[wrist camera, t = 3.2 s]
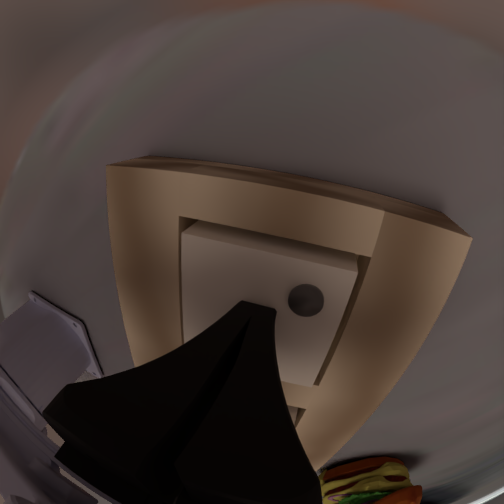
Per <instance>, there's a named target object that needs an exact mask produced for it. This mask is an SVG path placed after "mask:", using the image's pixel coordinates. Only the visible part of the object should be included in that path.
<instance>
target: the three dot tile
mask: <svg viewBox="0 0 504 504" xmlns="http://www.w3.org/2000/svg"><path fill="white" fill-rule="evenodd" d="M181 271H182V310H183V331H184V343H186V342H188V341H189V340H191V339H192V338H194V337H195V336H197V335H198V334H200V333H201V332H203V331H204V330H205V329H207V328H208V327H209V326H211V325H212V324H213V323H215V322H216V321H217V320H219V319H220V318H221V317H222V316H223V315H225V314H226V313H227V312H228V311H229V310H230V309H232V308H233V307H234V306H235V305H236V304H237V303H238V302H240V301H241V300H243V301H247V302H251V303H255V304H259V305H263V306H267V307H271V308H275V310H276V311H277V315H276V319H275V346H276V356H277V363H278V369H279V374H280V379H281V381H284V382H288V383H292V384H297V385H302V386H307V387H312V386H313V384H314V381H315V379H316V377H317V375H318V373H319V371H320V369H321V366H322V364H323V362H324V360H325V357H326V355H327V353H328V351H329V348H330V346H331V343H332V341H333V339H334V336H335V334H336V331H337V329H338V326H339V324H340V321H341V319H342V316H343V314H344V311H345V308H346V306H347V303H348V300H349V297H350V295H351V292H352V289H353V286H354V283H355V280H356V277H357V274H358V269H357V263H356V258H355V253H351V252H347V251H342V250H338V249H334V248H329V247H325V246H320V245H316V244H311V243H307V242H303V241H298V240H293V239H289V238H284V237H280V236H275V235H270V234H266V233H261V232H256V231H252V230H247V229H242V228H237V227H232V226H228V225H223V224H218V223H213V222H208V221H203V220H198V221H197V222H196V223H194V224H193V225H192V226H190V227H189V228H187V229H186V230H185V231H183V232H182V235H181Z"/></svg>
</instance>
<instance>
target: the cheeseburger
mask: <svg viewBox="0 0 504 504" xmlns="http://www.w3.org/2000/svg"><path fill="white" fill-rule="evenodd" d="M318 478H319V480H320V484H321V492H322V496H324V497H323V499H322V501H323V503H324V504H420V501H421V498H422V487H421V486H420V485H416V486H413V485H412V484H411V483H410V480H409V473H408V469H407V468H406V466H404V463H403V462H402V461H400V460H399V459H397V458H391V457H384V456H383V457H373V458H366V459H362V460H359V461H355V462H351V463H348V464H344V465H340V466H337V467H335V468H332V469H330V470H328V471H327V469H325V470H324V471H323V472H322V473H321V474H320V475H319V476H318Z"/></svg>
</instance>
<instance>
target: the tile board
mask: <svg viewBox="0 0 504 504" xmlns="http://www.w3.org/2000/svg"><path fill="white" fill-rule="evenodd" d="M106 182H107V205H108V220H109V231H110V241H111V250H112V258H113V265H114V272H115V279H116V285H117V291H118V296H119V302H120V307H121V312H122V317H123V321H124V326H125V330H126V335H127V339H128V343H129V347H130V351H131V354H132V358H133V362H134V365H135V367H138V366H140V365H143V364H145V363H147V362H150V361H152V360H154V359H156V358H159V357H161V356H163V355H165V354H167V353H169V352H170V351H172V350H174V349H176V348H178V347H179V346H181V345H183V344H184V331H183V310H182V271H181V235H182V232H183V231H185V230H186V229H187V228H189V227H190V226H192V225H193V224H194V223H196V222H197V221H198V220H203V221H208V222H213V223H218V224H223V225H228V226H232V227H237V228H242V229H247V230H252V231H256V232H261V233H266V234H270V235H275V236H280V237H284V238H289V239H293V240H298V241H303V242H307V243H311V244H316V245H320V246H325V247H329V248H334V249H338V250H342V251H347V252H351V253H355V258H356V263H357V269H358V274H357V277H356V280H355V283H354V286H353V289H352V292H351V295H350V297H349V300H348V303H347V306H346V308H345V311H344V314H343V316H342V319H341V321H340V324H339V326H338V329H337V331H336V334H335V336H334V339H333V341H332V343H331V346H330V348H329V351H328V353H327V355H326V357H325V360H324V362H323V364H322V366H321V369H320V371H319V373H318V375H317V377H316V379H315V381H314V384H313V386H312V387H307V386H302V385H297V384H292V383H288V382H284V381H281V384H282V388H283V392H284V396H285V399H286V403H287V405H289V406H294V407H298V410H297V415H296V420H295V425H294V426H295V429H296V431H297V434H298V437H299V439H300V441H301V444H302V446H303V448H304V450H305V453H306V455H307V457H308V459H309V461H310V463H311V465H312V467H313V468H314V470H315V472H316V471H317V470H318V469H319V468H320V467H322V466H323V465H324V464H325V463H326V462H327V461H328V460H329V459H330V458H331V457H332V456H333V455H334V454H335V453H336V452H337V451H338V450H339V449H340V448H341V447H342V446H343V445H344V444H345V443H346V442H347V441H348V440H349V439H350V438H351V437H352V436H353V435H354V434H355V433H356V432H357V431H358V430H359V428H360V427H361V426H362V425H363V424H364V423H365V422H366V421H367V419H368V418H369V417H370V416H371V415H372V413H373V412H374V411H375V410H376V409H377V407H378V406H379V405H380V404H381V402H382V401H383V400H384V399H385V397H386V396H387V395H388V394H389V392H390V391H391V390H392V388H393V387H394V386H395V384H396V383H397V381H398V380H399V379H400V377H401V376H402V374H403V373H404V372H405V370H406V369H407V367H408V366H409V364H410V363H411V361H412V360H413V358H414V357H415V355H416V354H417V352H418V350H419V349H420V347H421V346H422V344H423V342H424V341H425V339H426V337H427V336H428V334H429V332H430V330H431V329H432V327H433V325H434V323H435V322H436V320H437V318H438V316H439V314H440V312H441V310H442V308H443V306H444V304H445V303H446V300H447V298H448V296H449V294H450V292H451V290H452V288H453V286H454V284H455V281H456V279H457V277H458V275H459V272H460V270H461V268H462V265H463V263H464V260H465V258H466V255H467V253H468V250H469V247H470V245H471V242H472V239H473V238H472V237H471V236H470V235H468V234H467V233H466V232H465V231H464V230H463V229H462V228H460V227H459V226H458V225H457V224H456V223H454V222H453V221H452V220H451V219H450V218H448V217H447V216H446V215H445V214H443V213H441V212H438V211H435V210H432V209H429V208H425V207H422V206H419V205H416V204H413V203H409V202H406V201H402V200H399V199H396V198H392V197H388V196H385V195H381V194H377V193H374V192H370V191H366V190H362V189H358V188H354V187H350V186H346V185H341V184H337V183H332V182H328V181H323V180H319V179H314V178H309V177H304V176H299V175H294V174H289V173H283V172H277V171H272V170H266V169H260V168H253V167H247V166H240V165H233V164H226V163H218V162H210V161H201V160H192V159H182V158H171V157H158V156H144V157H139V158H135V159H130V160H126V161H122V162H118V163H114V164H110V165H106Z"/></svg>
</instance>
